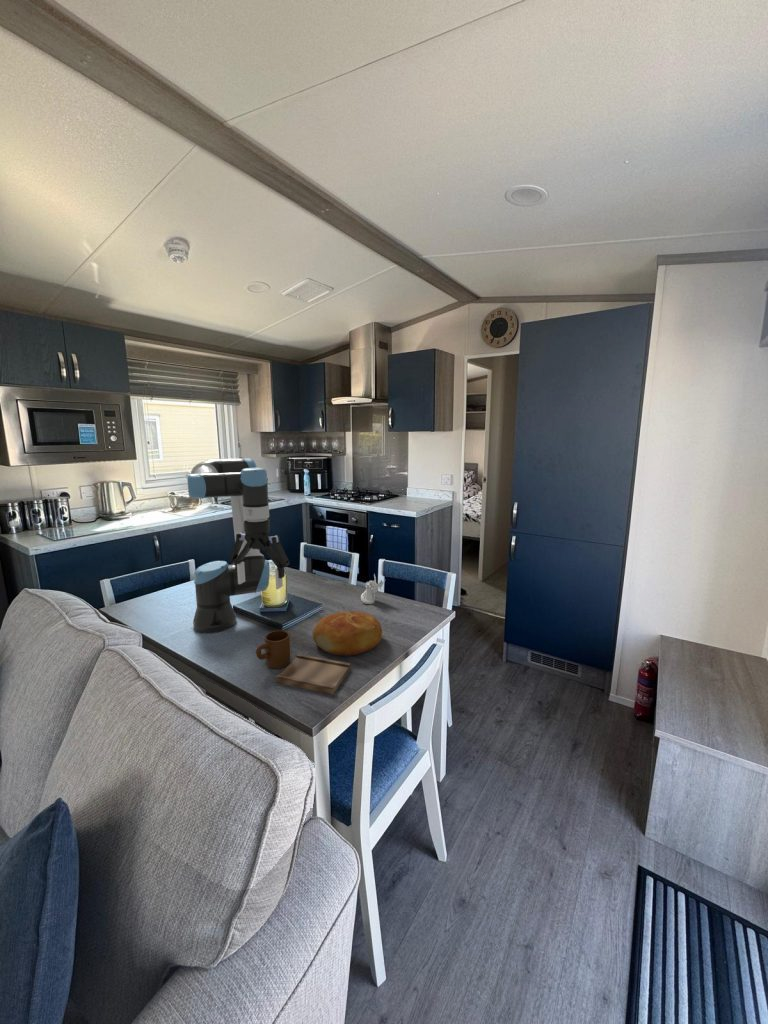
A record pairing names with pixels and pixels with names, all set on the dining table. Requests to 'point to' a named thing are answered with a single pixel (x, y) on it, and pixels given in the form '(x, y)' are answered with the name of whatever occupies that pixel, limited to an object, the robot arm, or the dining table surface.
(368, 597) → the figurine
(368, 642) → the bread
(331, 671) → the board
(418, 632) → the dining table surface
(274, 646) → the mug
